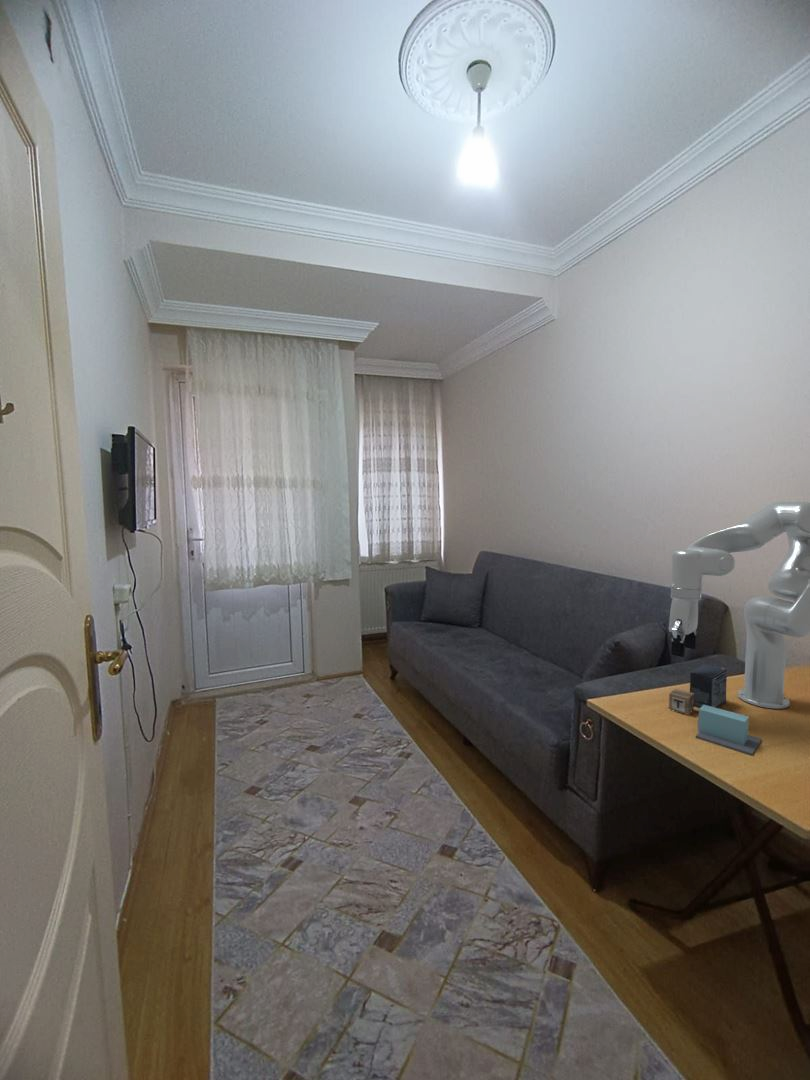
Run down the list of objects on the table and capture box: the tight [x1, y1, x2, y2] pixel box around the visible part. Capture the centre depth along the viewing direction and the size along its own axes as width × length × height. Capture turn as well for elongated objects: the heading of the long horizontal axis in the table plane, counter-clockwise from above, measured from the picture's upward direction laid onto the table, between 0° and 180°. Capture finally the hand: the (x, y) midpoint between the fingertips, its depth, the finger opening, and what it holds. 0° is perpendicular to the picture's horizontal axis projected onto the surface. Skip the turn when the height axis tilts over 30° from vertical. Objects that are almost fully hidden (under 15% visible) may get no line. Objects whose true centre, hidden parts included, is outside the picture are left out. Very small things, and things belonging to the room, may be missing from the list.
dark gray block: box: [695, 731, 762, 756], centre depth 122 cm, size 10×12×1 cm
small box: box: [689, 663, 728, 709], centre depth 143 cm, size 11×6×10 cm, turn 126°
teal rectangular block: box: [697, 705, 750, 745], centre depth 123 cm, size 4×10×6 cm, turn 43°
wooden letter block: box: [668, 688, 695, 716], centre depth 139 cm, size 6×5×5 cm
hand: (683, 651), depth 138 cm, fingers open, 9 cm apart
